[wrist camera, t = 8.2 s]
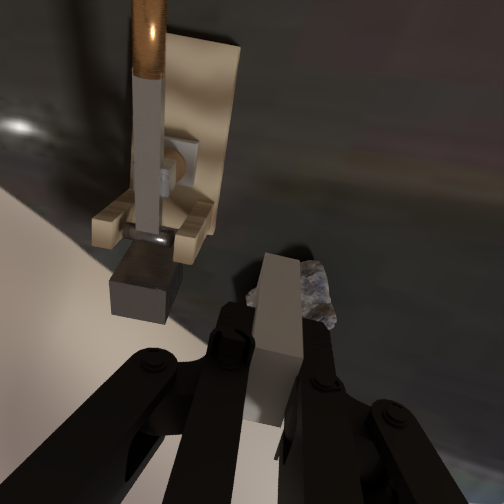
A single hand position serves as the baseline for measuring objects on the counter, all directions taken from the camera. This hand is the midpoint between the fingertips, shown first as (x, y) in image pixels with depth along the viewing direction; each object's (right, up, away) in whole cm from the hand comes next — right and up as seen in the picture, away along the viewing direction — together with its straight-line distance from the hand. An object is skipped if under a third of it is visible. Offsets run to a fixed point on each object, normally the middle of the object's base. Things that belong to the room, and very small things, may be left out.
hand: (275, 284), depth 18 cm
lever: (-10, +11, +24) cm, 28 cm away
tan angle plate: (-9, +15, +32) cm, 36 cm away
